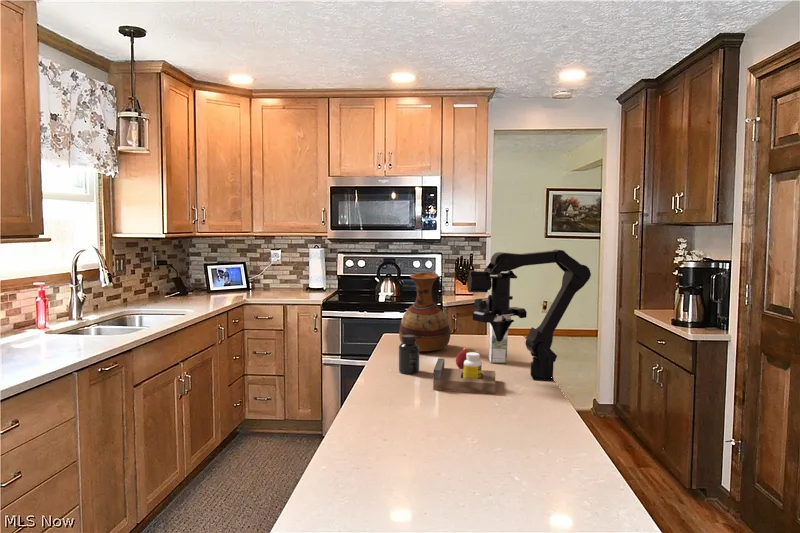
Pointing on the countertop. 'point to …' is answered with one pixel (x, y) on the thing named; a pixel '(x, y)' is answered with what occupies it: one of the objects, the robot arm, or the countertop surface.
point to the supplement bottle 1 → (409, 355)
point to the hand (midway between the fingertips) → (499, 341)
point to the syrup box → (497, 348)
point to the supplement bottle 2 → (472, 366)
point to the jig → (462, 380)
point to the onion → (461, 358)
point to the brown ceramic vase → (426, 315)
